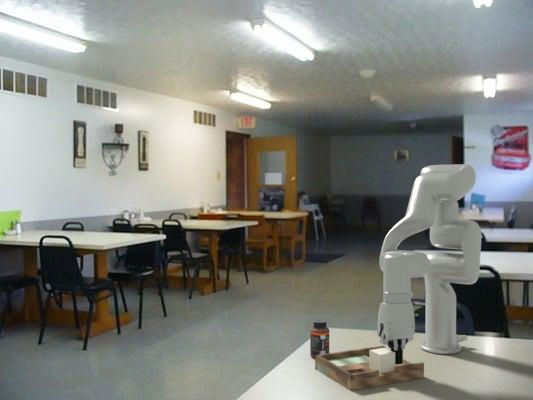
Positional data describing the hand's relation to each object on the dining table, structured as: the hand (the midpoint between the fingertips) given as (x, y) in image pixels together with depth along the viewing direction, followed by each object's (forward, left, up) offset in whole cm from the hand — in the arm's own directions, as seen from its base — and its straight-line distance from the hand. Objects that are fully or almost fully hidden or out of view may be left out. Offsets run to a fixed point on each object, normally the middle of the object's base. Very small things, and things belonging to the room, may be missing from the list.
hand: (396, 362), depth 157 cm
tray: (+6, -5, -4) cm, 9 cm away
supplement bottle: (+11, -24, -4) cm, 27 cm away
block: (+5, 0, -1) cm, 5 cm away
